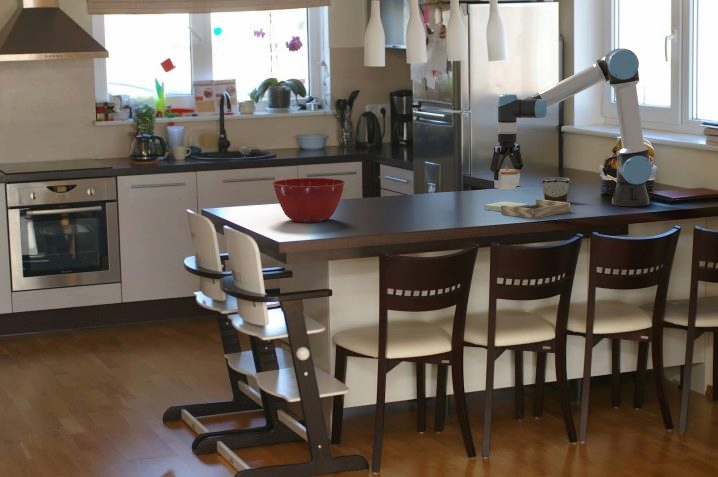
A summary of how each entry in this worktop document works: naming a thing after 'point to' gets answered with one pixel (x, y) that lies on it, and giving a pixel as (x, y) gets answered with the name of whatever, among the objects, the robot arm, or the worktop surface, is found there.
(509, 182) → the lidded jar
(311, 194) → the mixing bowl
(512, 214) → the cradle
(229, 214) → the worktop surface
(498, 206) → the trivet
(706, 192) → the worktop surface
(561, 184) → the food container
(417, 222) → the worktop surface
